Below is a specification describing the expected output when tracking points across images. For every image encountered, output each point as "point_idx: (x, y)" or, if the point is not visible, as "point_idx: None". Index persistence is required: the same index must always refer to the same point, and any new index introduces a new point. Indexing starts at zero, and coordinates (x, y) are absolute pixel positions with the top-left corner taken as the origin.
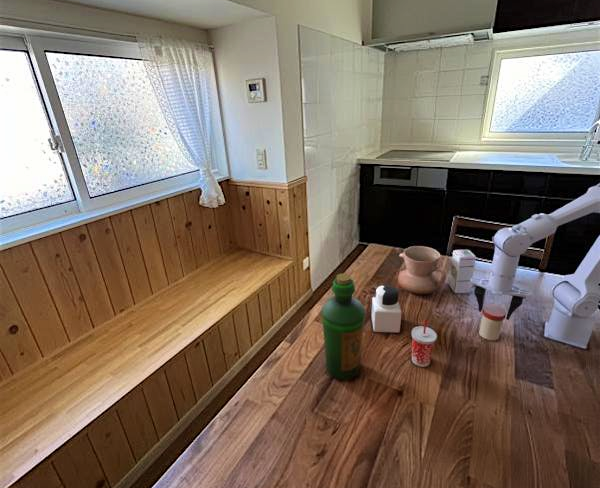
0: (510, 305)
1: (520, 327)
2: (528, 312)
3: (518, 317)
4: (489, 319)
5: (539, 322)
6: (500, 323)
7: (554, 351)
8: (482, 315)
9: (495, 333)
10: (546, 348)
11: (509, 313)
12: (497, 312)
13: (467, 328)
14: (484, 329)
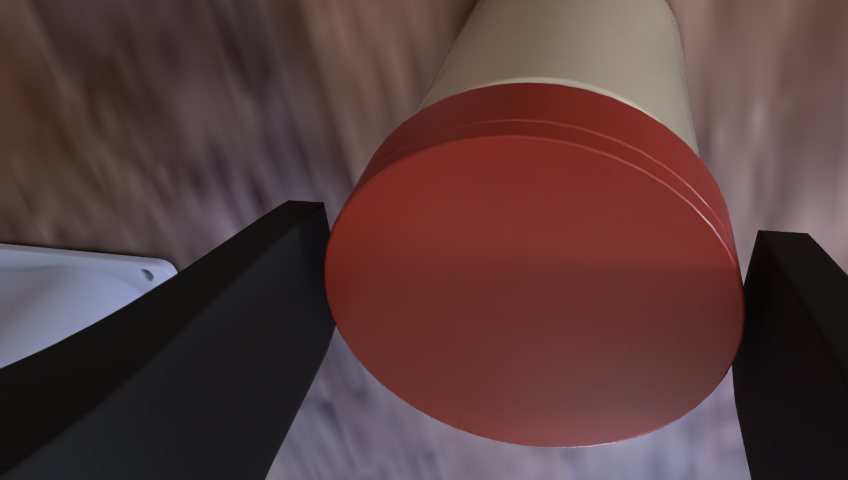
0: (40, 440)
1: None
2: (350, 465)
3: (388, 404)
4: None
5: None
6: None
7: (52, 121)
8: None
9: (476, 20)
10: (104, 129)
11: (211, 276)
12: (453, 279)
13: (838, 56)
14: (627, 14)
